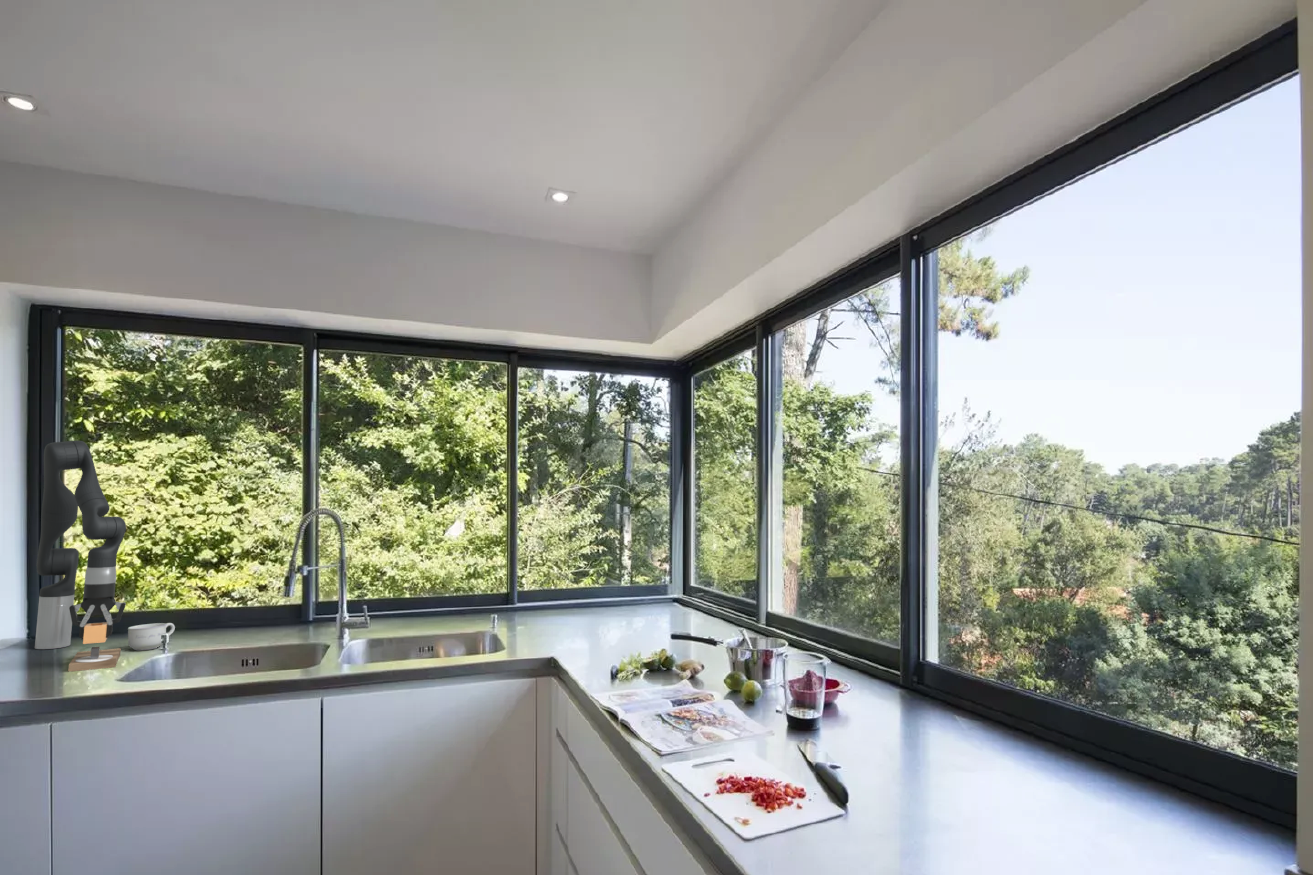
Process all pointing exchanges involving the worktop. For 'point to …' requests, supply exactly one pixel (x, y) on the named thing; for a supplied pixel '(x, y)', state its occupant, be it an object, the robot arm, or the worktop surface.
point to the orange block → (95, 633)
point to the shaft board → (95, 659)
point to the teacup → (147, 635)
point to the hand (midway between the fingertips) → (95, 637)
